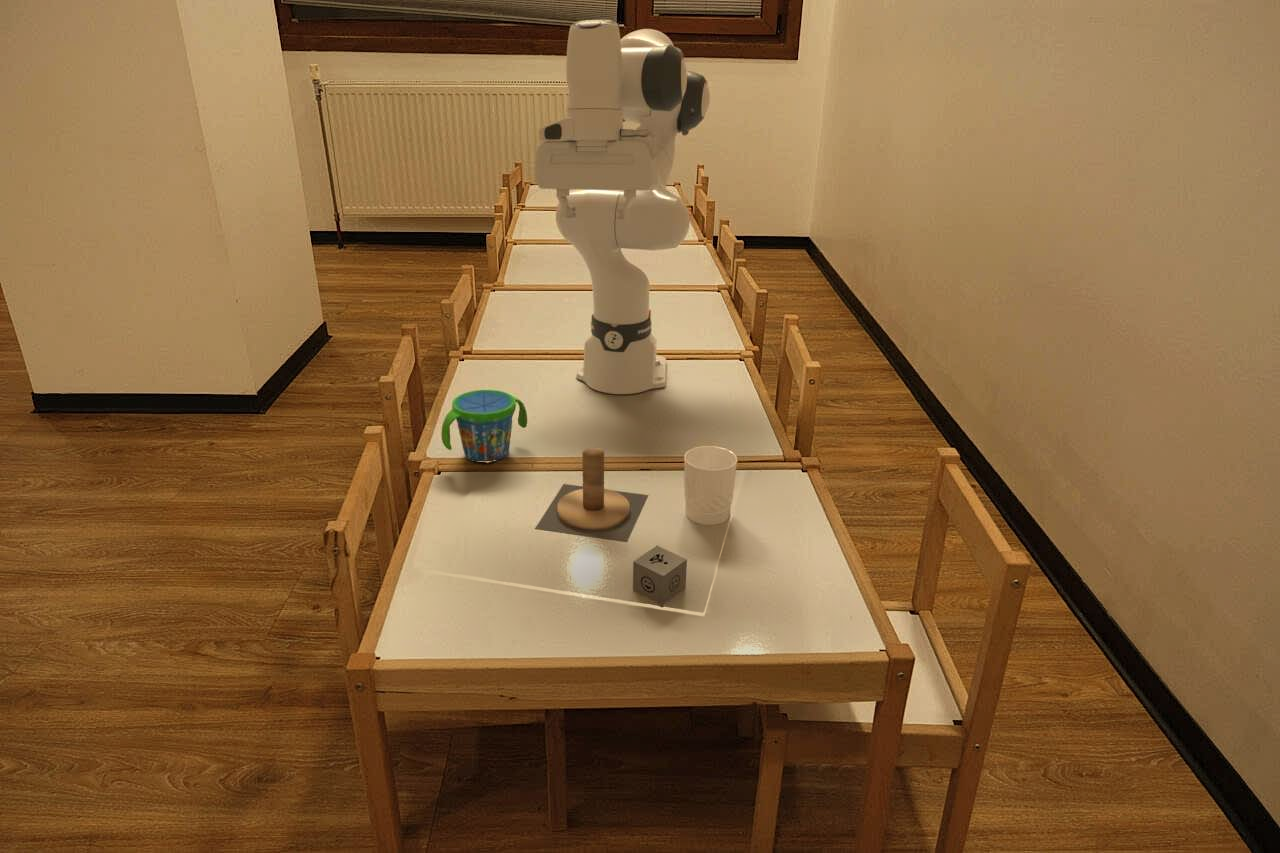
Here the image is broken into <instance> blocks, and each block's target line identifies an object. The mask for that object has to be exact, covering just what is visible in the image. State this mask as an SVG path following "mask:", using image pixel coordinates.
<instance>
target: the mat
mask: <svg viewBox="0 0 1280 853" xmlns="http://www.w3.org/2000/svg"><path fill="white" fill-rule="evenodd" d="M579 489H583V485H582V486H581V485H575V484H574V485H573V484H568V483H563V484H562V486H561V487H560V489H559V491H558V492H557V494H556V495H555V497H554V498H553V499H552V501H551V503H550V504H549V506H548V507H547V509H546V511H545V512H544V514H543V516H542V517H541V518H540V520H539V521H538V523H537V525H536V526H535V528H534V529H535V530H540V531H546V532H547V531H548V532H555V533H562V534H568V535H576V536H582V537H588V538H589V537H590V538H596V539H603V540H609V541H617V542H623V543H628V541H629V538H630V536H631V534H632V532H633V530H634V528H635V525H636V523H637V521H638V518H639V516H640V514H641V512H642V510H643V508H644V505H645V503H646V501H647V499H648V497H649V495H648V494H643V493H642V494H641V493H635V492H634V493H633V492H627V491H619V490H612V489H611V490H612V491H615V492H618V493H620V494H621V495H623V496H624V497H625V498H626V499H627V500H628V502H629V505H630V510H629V516H628V518H627V519H626V520H625V521H624V522H623V523H621V524H619V525H617V526H615V527H612V528H609V529H604V530H582V529H577V528H574V527H571V526H569V525H567V524H565V523H564V522H562V521H561V519H560V518H559V516H558V510H557V505H558V502H559V500H560V499H561V498H562V497H563V496H565V495H566V494H568V493H570V492H572V491H576V490H579Z"/></svg>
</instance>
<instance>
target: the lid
mask: <svg viewBox="0 0 1280 853" xmlns="http://www.w3.org/2000/svg"><path fill="white" fill-rule="evenodd" d="M582 486H583V489H579V490H576V491H572V492H570V493H568V494H566V495H565V496H563V497H562V498H561V499H560V500H559V502H558V505H557V510H558V516H559V518H560V519H561V521H562V522H564V523H565V524H567V525H569V526H571V527H574V528H577V529H582V530H604V529H609V528H612V527H615V526H617V525H619V524H621V523H623V522H624V521H625V520H626V519H627V518H628V516H629V510H630V505H629V502H628V500H627V499H626V498H625V497H624V496H623V495H621V494H620V493H618V492H615V491H616V490H613V491H612V489H607V488H605V451H603V449H600V448H596V447H594V448H593V447H592V448H591V447H590V448H587V449H584V450H583V451H582Z"/></svg>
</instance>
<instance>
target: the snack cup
mask: <svg viewBox="0 0 1280 853" xmlns="http://www.w3.org/2000/svg"><path fill="white" fill-rule="evenodd" d="M517 405H518V407H519V409H518V410H519V411H518V417H517V424H518V425H519V426H520V427H521V428H527V426H528V414H527V410H526V409H527V408H526V407H525V405H524V403H523V402H522V401H521V400H520V399H519V398H517V397H515V396H513V395H512V394H510V393H508V392H504V391H502V390H501V391H500V390H498V389H497V390H496V389H478V390H473V391H472V390H471V391H468V392H465V393H464V392H463V393H461V394H460V395H457V396H456V397H455V398H454V399H453V400H452V404H451V406H452V407H451V409H450V410H449V411H448V413H446V415H445V417H444V420H443V422H442V427H441V435H440V436H441V442H442V444H443V446H444V447H445V448H446V449H447V450H449V451H452V445H451V428H450V427H451V425H452V424H453V422H454V421H455V420H456V423H457V428H458V432H459V436H460V440H461V441H460V442H461V445H462V449H463V453H464V456H465V457H466V460H468V459H469V460H468V461H471V460H473V461H472V462H474V461H493V460H498V459H501V460H502V459H504V458H507V457H508V453H509V451H510V446H511V445H510V444H511V438H512V429H513V416H514V414H515V411H516V408H517V407H516V406H517ZM498 461H499V460H498Z"/></svg>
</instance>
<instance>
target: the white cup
mask: <svg viewBox="0 0 1280 853" xmlns="http://www.w3.org/2000/svg"><path fill="white" fill-rule="evenodd" d="M683 460H684V461H683V462H684V466H683V467H684V470H683V472H684V473H683V475H684V476H683V477H684V478H683V480H684V483H683V485H684V486H683V487H684V500H685V502H684V503H685V509H684V510H685V516H686V517H687V519H689V520H690V521H691V522H694V523H697V524H699V525H706V526H707V525H709V526H713V525H715V526H716V525H719V524H720V525H721V524H722V523H724V522H726V521H728V519H729V517H730V515H731V506H732V502H733V497H734V496H733V495H734V489H735V482H736V474H737V466H738V456H737V455H736V454H735V453H734V452H733V451H731V450H730V449H727V448H724V447H720V446H713V445H702V446H701V445H700V446H695V447H693V448H691V449H689V450H687V451H686V452H685V454H684V458H683Z"/></svg>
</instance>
